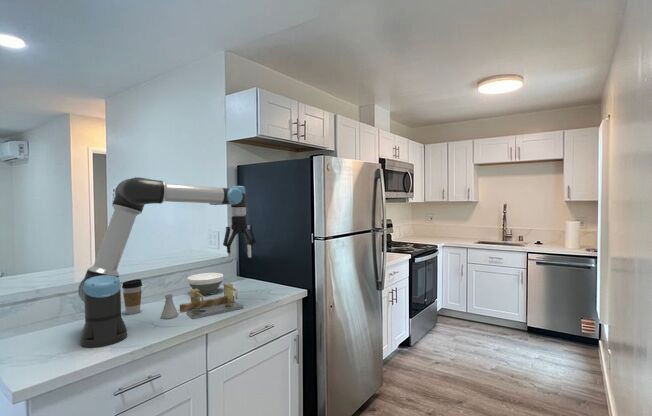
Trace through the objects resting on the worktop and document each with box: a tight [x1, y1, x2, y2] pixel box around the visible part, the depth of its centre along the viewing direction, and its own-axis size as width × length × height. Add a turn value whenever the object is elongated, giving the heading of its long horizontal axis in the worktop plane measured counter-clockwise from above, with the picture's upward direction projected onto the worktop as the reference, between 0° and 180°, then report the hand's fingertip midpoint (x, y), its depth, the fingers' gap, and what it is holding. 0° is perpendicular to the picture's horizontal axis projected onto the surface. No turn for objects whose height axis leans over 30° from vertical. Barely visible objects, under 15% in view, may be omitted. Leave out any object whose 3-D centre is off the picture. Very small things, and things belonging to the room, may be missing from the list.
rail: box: [179, 288, 235, 313], centre depth 172 cm, size 26×14×9 cm, turn 126°
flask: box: [160, 293, 179, 320], centre depth 160 cm, size 7×7×10 cm
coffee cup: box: [121, 278, 143, 315], centre depth 168 cm, size 8×8×15 cm
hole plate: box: [186, 301, 245, 320], centre depth 167 cm, size 24×9×1 cm, turn 126°
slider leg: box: [223, 282, 239, 304], centre depth 178 cm, size 3×14×9 cm, turn 36°
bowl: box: [187, 272, 224, 296], centre depth 203 cm, size 20×20×10 cm
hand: (240, 258), depth 185 cm, fingers open, 10 cm apart
